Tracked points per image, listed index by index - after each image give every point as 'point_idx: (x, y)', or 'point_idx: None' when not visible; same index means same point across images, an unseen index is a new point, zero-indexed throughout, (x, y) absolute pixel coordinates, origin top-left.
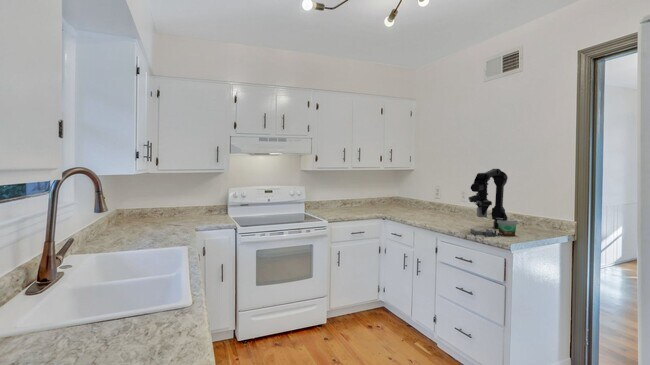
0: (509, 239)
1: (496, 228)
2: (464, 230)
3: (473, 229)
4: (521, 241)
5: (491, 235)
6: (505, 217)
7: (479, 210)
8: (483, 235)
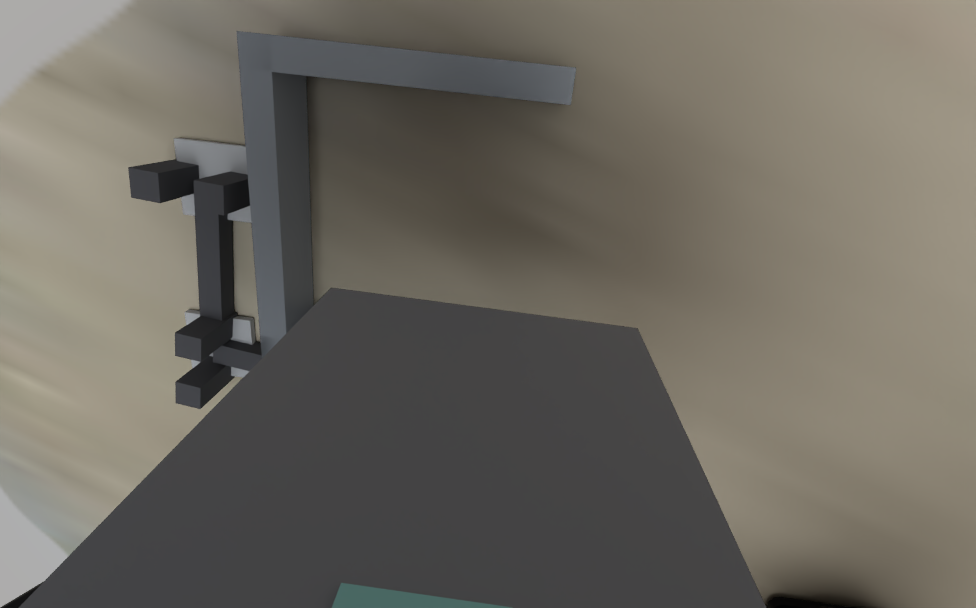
0: (81, 409)
1: (777, 600)
2: (769, 10)
3: (461, 88)
4: (10, 474)
5: (200, 277)
6: None
7: (147, 499)
8: (233, 168)
